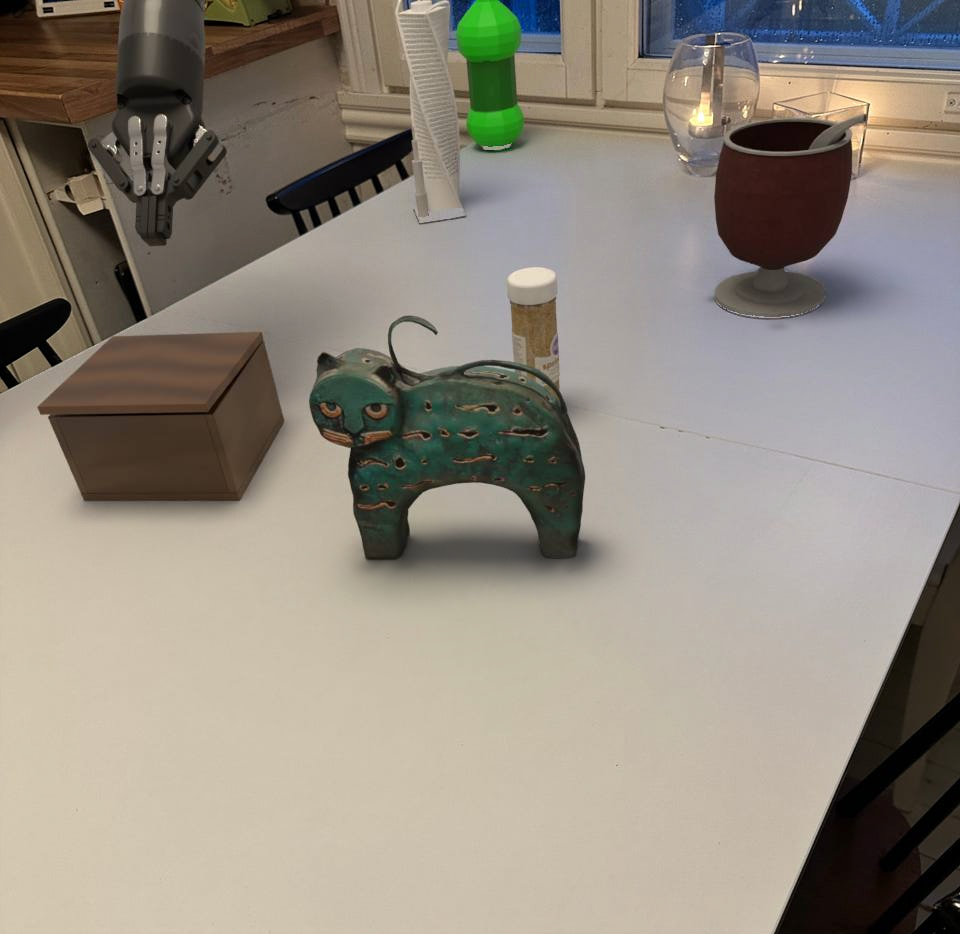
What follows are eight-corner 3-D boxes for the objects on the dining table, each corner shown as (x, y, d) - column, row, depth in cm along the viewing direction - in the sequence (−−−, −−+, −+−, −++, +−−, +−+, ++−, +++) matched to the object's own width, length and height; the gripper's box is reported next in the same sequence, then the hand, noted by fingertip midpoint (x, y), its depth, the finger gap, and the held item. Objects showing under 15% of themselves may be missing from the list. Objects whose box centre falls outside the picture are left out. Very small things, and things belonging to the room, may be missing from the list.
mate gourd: (682, 302, 112) (692, 111, 98) (755, 264, 118) (774, 80, 105) (796, 337, 102) (824, 132, 89) (869, 294, 109) (905, 97, 95)
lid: (208, 412, 81) (205, 403, 81) (40, 415, 84) (36, 406, 83) (263, 339, 93) (261, 331, 92) (115, 343, 95) (112, 336, 95)
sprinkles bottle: (561, 419, 94) (555, 283, 85) (514, 420, 94) (504, 286, 85) (562, 396, 97) (557, 263, 88) (517, 398, 98) (508, 266, 89)
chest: (239, 500, 88) (213, 414, 82) (83, 500, 91) (47, 417, 85) (284, 420, 99) (264, 339, 93) (143, 423, 101) (115, 344, 95)
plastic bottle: (459, 156, 164) (442, -19, 148) (479, 138, 172) (465, -30, 155) (515, 156, 161) (504, -23, 145) (533, 137, 169) (524, -34, 152)
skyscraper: (411, 206, 146) (383, -12, 128) (463, 198, 147) (443, -20, 129) (419, 224, 140) (390, -4, 122) (473, 215, 141) (452, -12, 122)
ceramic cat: (342, 567, 79) (288, 335, 66) (360, 522, 84) (313, 297, 70) (584, 570, 76) (579, 327, 62) (588, 523, 80) (584, 287, 67)
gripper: (246, 78, 90) (238, 258, 89) (117, 87, 92) (107, 263, 91) (212, 23, 83) (202, 218, 82) (71, 35, 85) (61, 226, 84)
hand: (152, 242), depth 87 cm, fingers closed
